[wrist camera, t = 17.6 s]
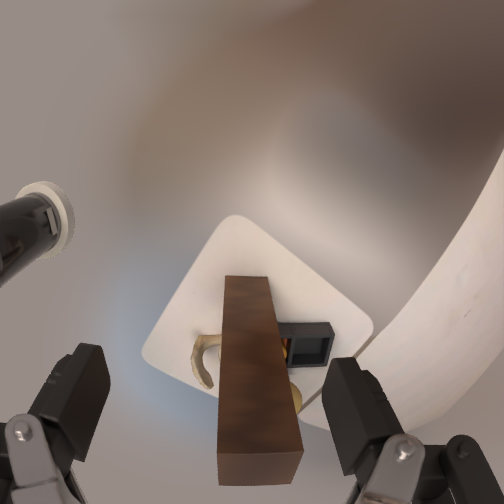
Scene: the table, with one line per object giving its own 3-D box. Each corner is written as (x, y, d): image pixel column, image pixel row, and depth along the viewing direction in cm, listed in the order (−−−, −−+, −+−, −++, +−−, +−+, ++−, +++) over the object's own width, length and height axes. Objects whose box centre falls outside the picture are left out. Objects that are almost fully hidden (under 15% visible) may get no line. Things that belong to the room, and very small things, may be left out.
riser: (224, 311, 42) (218, 485, 18) (225, 275, 40) (216, 453, 16) (264, 312, 42) (290, 483, 18) (267, 276, 40) (304, 451, 16)
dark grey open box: (247, 354, 45) (248, 368, 42) (250, 322, 43) (251, 334, 40) (321, 353, 46) (326, 366, 43) (329, 322, 43) (335, 334, 41)
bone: (269, 342, 42) (245, 404, 35) (245, 351, 47) (221, 406, 40) (221, 309, 40) (189, 371, 34) (201, 322, 45) (172, 377, 38)
